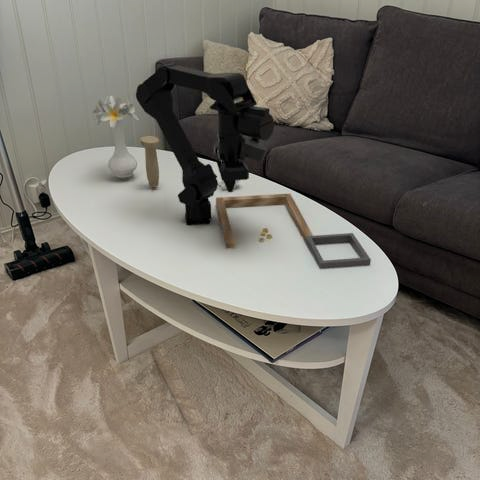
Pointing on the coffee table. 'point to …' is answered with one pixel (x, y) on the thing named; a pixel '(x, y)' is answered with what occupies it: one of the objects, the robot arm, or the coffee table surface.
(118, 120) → the flower vase
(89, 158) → the coffee table surface
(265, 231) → the dice set
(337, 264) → the bin
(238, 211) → the coffee table surface
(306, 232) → the wooden u-frame
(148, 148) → the handle
